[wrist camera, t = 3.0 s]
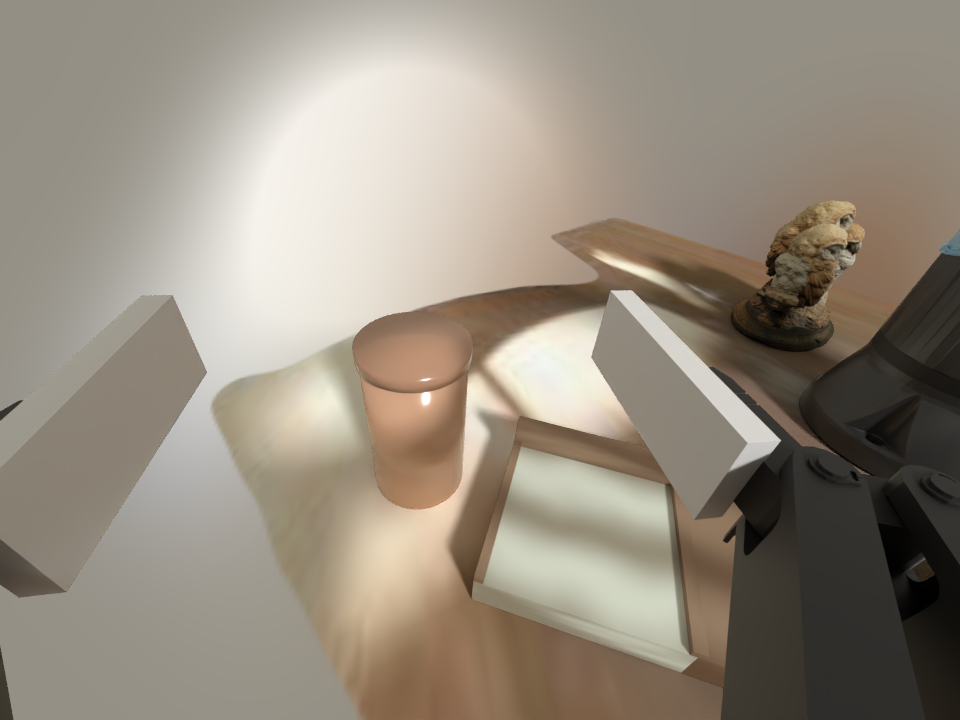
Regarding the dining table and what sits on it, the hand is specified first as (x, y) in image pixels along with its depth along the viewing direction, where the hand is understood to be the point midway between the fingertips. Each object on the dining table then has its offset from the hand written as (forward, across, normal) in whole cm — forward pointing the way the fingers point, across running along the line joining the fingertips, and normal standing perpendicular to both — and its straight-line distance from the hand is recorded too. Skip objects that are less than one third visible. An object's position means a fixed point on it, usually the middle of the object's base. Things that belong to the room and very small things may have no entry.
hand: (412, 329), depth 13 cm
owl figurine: (+30, +52, -20) cm, 63 cm away
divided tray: (0, +16, -20) cm, 25 cm away
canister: (+10, 0, -20) cm, 23 cm away
